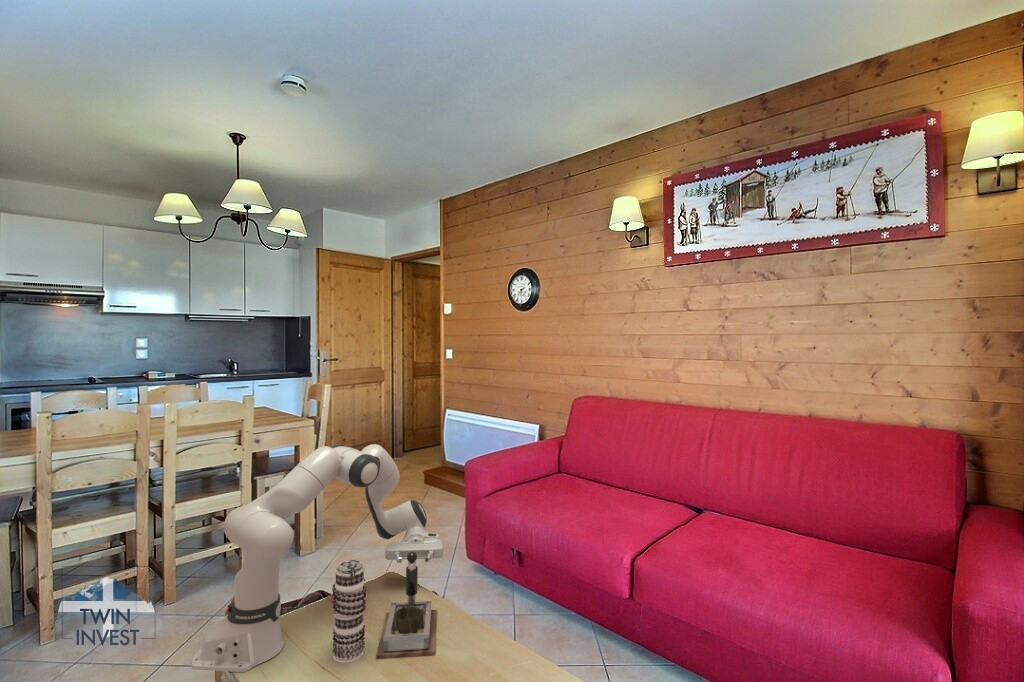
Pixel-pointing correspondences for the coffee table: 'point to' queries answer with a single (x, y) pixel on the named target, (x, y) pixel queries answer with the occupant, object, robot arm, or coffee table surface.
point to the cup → (408, 619)
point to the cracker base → (410, 653)
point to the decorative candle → (349, 612)
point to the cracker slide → (410, 639)
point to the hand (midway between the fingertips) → (413, 560)
